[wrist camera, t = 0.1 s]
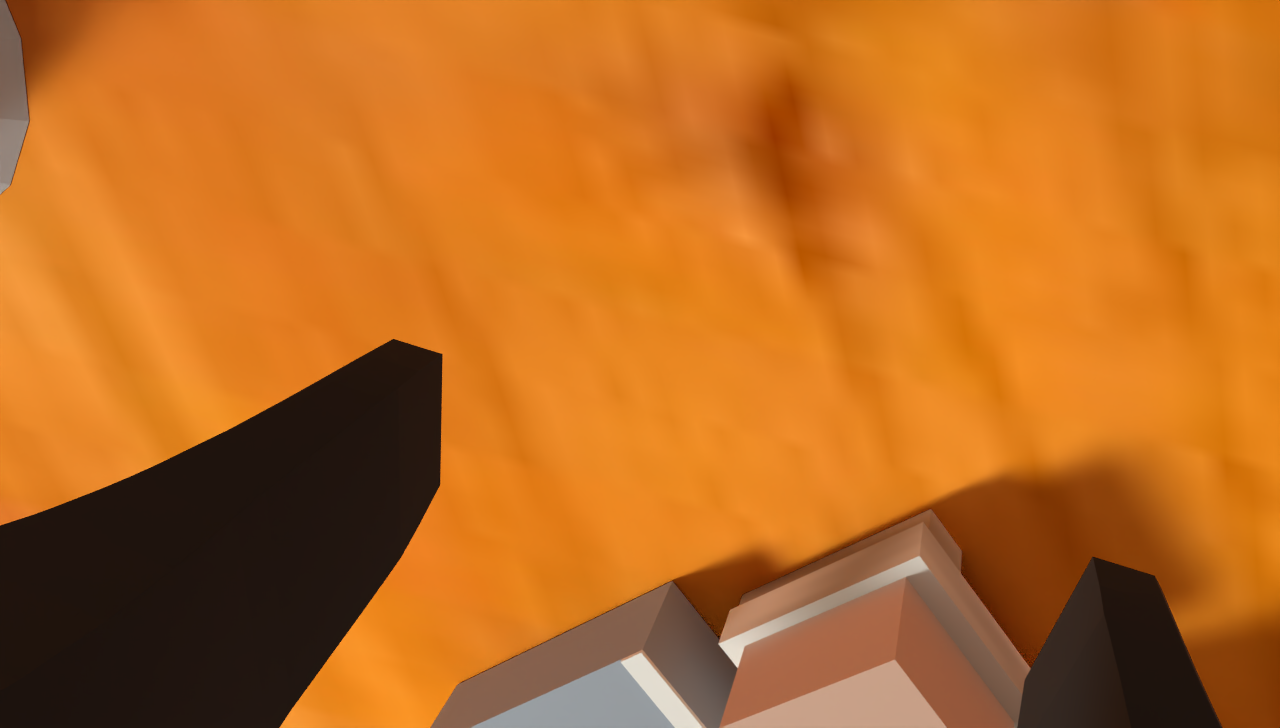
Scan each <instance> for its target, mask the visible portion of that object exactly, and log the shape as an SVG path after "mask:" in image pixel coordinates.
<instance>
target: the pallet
mask: <svg viewBox="0 0 1280 728" xmlns="http://www.w3.org/2000/svg"><path fill="white" fill-rule="evenodd" d="M961 561H962V551H961V549H960V548H959V546H958V545H957V544H956V542H955V541H954V540H953V538H952V537H951V535H950V534H949V533H948V531H947V530H946V529H945V527H944V526H943V524H942V523H941V522H940V520H939V519H938V518H937V516H936V515H935V514H934V512H933V511H932V509H929V510H927V511H925V512H923V513H921V514H918V515H916V516H914V517H912V518H910V519H908V520H905V521H903V522H901V523H899V524H897V525H894V526H892V527H890V528H888V529H886V530H883V531H881V532H879V533H877V534H875V535H873V536H870V537H868V538H866V539H864V540H862V541H859V542H857V543H855V544H853V545H851V546H848V547H846V548H844V549H842V550H840V551H837V552H835V553H833V554H831V555H829V556H827V557H824V558H822V559H820V560H818V561H816V562H813V563H811V564H809V565H807V566H805V567H802V568H800V569H798V570H796V571H794V572H792V573H789V574H787V575H785V576H783V577H781V578H778V579H776V580H774V581H772V582H770V583H767V584H765V585H763V586H761V587H759V588H757V589H754V590H752V591H750V592H748V593H746V594H743V595H742V598H741V601H740V604H739V606H737V607H735V608H733V609H730V611H729V614H728V617H727V620H726V623H725V626H724V629H723V632H722V634H721V637H720V640H719V643H718V644H719V645H720V647H721V648H722V649H723V650H724V652H725V653H726V654H727V655H728V657H729V658H730V659H731V660H732V662H733V663H734V664H735V665H736V667H737V668H738V666H739V663H740V660H741V656H742V653H743V650H744V647H745V646H746V645H748V644H751V643H753V642H755V641H758V640H760V639H762V638H765V637H767V636H769V635H772V634H774V633H776V632H779V631H781V630H783V629H786V628H788V627H790V626H793V625H795V624H797V623H800V622H802V621H804V620H807V619H809V618H811V617H814V616H816V615H818V614H821V613H823V612H825V611H828V610H830V609H832V608H835V607H837V606H839V605H841V604H844V603H846V602H848V601H851V600H853V599H855V598H858V597H860V596H862V595H865V594H867V593H869V592H872V591H874V590H876V589H879V588H881V587H883V586H886V585H888V584H890V583H893V582H895V581H897V580H900V579H902V578H904V577H906V578H907V579H908V580H909V582H910V583H911V584H912V586H913V587H914V588H915V590H916V591H917V592H918V594H919V595H920V596H921V598H922V599H923V601H924V602H925V603H926V605H927V606H928V607H929V609H930V610H931V611H932V613H933V614H934V615H935V617H936V618H937V619H938V621H939V622H940V623H941V625H942V626H943V627H944V629H945V630H946V631H947V633H948V634H949V635H950V637H951V638H952V639H953V641H954V642H955V643H956V645H957V646H958V647H959V649H960V650H961V652H962V653H963V654H964V656H965V657H966V658H967V660H968V661H969V662H970V664H971V665H972V666H973V668H974V669H975V670H976V672H977V673H978V674H979V676H980V677H981V678H982V680H983V681H984V682H985V684H986V685H987V686H988V688H989V689H990V690H991V692H992V693H993V694H994V696H995V697H996V698H997V700H998V701H999V703H1000V704H1001V705H1002V707H1003V708H1004V709H1005V711H1006V712H1007V713H1008V715H1009V716H1010V717H1011V719H1012V720H1013V721H1014V728H1017V726H1018V719H1019V713H1020V706H1021V700H1022V694H1023V687H1024V681H1025V678H1026V676H1027V675H1028V673H1029V671H1030V669H1031V668H1030V667H1029V666H1028V664H1027V663H1026V662H1025V660H1024V659H1023V658H1022V656H1021V655H1020V653H1019V652H1018V651H1017V649H1016V648H1015V647H1014V645H1013V644H1012V642H1011V641H1010V640H1009V638H1008V637H1007V636H1006V634H1005V633H1004V632H1003V630H1002V629H1001V627H1000V626H999V625H998V623H997V622H996V621H995V619H994V618H993V617H992V615H991V614H990V612H989V611H988V610H987V608H986V607H985V606H984V604H983V603H982V601H981V600H980V599H979V597H978V596H977V595H976V593H975V592H974V591H973V589H972V588H971V586H970V585H969V584H968V582H967V581H966V580H965V578H964V577H963V576H962V574H961Z"/></svg>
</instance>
